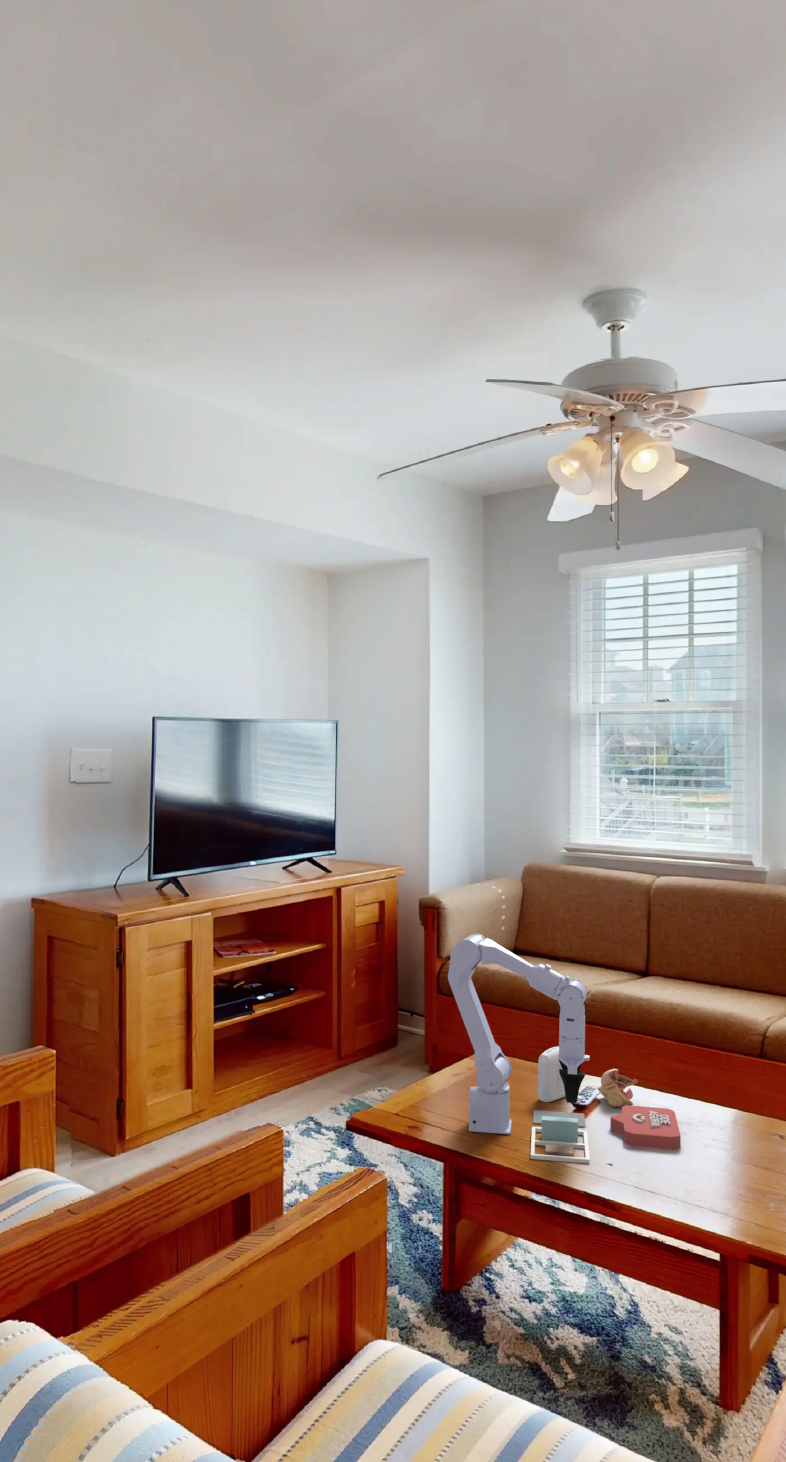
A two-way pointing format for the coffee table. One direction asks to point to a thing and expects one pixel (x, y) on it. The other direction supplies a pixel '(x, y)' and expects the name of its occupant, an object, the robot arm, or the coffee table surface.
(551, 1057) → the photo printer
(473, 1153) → the coffee table surface
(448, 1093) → the coffee table surface
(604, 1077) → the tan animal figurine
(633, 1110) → the plaque
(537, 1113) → the mat
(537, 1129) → the rack
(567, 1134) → the pale teal block
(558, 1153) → the offcut stack
